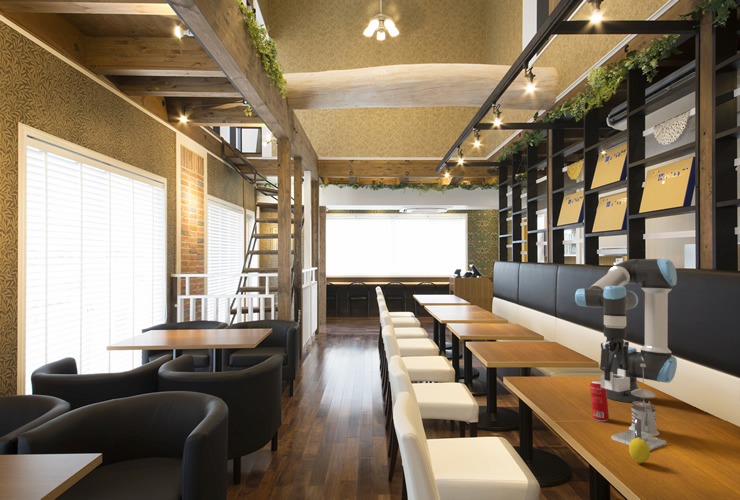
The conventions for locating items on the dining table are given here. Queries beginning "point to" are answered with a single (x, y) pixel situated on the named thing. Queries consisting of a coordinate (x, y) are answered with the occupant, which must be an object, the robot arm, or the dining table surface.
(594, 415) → the beverage can
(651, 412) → the french press
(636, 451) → the lemon
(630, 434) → the toggle switch
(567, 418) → the dining table surface
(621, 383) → the white square hollow block
